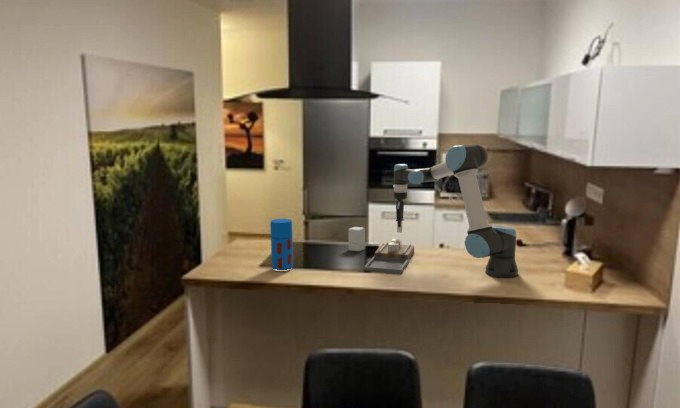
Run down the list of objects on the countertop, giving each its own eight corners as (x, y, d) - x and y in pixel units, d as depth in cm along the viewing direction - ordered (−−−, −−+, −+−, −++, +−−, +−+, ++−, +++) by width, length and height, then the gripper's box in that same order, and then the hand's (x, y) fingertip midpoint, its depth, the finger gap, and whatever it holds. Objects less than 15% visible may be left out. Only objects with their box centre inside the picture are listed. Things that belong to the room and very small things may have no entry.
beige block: (398, 250, 273) (399, 242, 273) (397, 252, 269) (397, 245, 268) (389, 249, 275) (390, 242, 274) (388, 251, 270) (388, 244, 269)
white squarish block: (401, 246, 281) (401, 239, 280) (400, 248, 276) (400, 241, 276) (392, 245, 282) (393, 238, 282) (391, 248, 278) (391, 241, 277)
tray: (408, 262, 264) (408, 259, 263) (401, 273, 245) (401, 270, 244) (373, 259, 269) (373, 256, 269) (363, 270, 250) (363, 266, 250)
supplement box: (365, 248, 292) (365, 227, 290) (359, 251, 286) (359, 230, 284) (354, 247, 296) (354, 226, 294) (348, 250, 290) (348, 228, 288)
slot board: (414, 252, 283) (414, 244, 282) (407, 262, 264) (408, 253, 263) (382, 250, 288) (383, 241, 287) (374, 259, 270) (374, 250, 269)
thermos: (297, 268, 255) (296, 220, 251) (281, 273, 247) (280, 223, 243) (283, 264, 262) (282, 217, 258) (267, 269, 254) (265, 220, 250)
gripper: (396, 189, 291) (395, 229, 295) (391, 193, 279) (390, 234, 283) (409, 190, 289) (408, 230, 293) (404, 193, 276) (404, 235, 281)
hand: (399, 232), depth 288 cm, fingers closed
